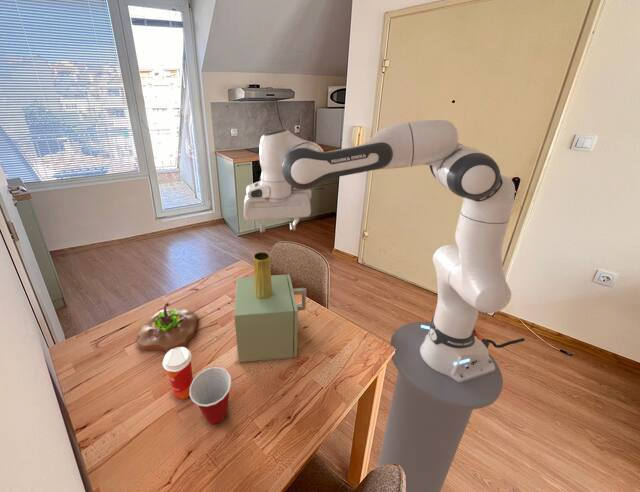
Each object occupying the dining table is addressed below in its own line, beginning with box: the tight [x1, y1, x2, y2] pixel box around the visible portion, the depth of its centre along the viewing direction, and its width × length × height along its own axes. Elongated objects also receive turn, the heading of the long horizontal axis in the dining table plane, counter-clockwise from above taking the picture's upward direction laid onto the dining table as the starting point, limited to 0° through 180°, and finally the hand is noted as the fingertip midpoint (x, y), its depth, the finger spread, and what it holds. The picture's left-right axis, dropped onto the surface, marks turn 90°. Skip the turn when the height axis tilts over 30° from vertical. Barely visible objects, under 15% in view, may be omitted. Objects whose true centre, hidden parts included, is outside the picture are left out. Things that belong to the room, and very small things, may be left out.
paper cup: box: [162, 346, 194, 400], centre depth 84 cm, size 8×8×14 cm
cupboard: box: [233, 274, 294, 363], centre depth 101 cm, size 18×20×20 cm
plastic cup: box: [189, 366, 232, 425], centre depth 78 cm, size 11×11×12 cm
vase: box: [252, 251, 272, 298], centre depth 94 cm, size 6×6×14 cm
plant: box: [136, 301, 199, 353], centre depth 106 cm, size 20×20×11 cm
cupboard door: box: [286, 274, 307, 358], centre depth 102 cm, size 7×20×19 cm, turn 5°
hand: (277, 230), depth 91 cm, fingers open, 8 cm apart
